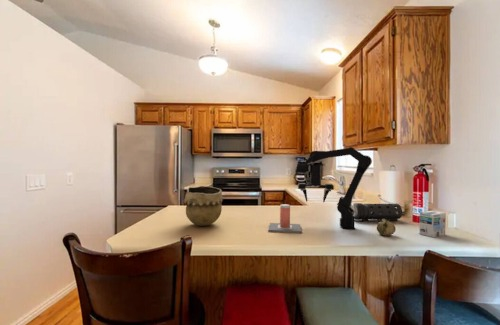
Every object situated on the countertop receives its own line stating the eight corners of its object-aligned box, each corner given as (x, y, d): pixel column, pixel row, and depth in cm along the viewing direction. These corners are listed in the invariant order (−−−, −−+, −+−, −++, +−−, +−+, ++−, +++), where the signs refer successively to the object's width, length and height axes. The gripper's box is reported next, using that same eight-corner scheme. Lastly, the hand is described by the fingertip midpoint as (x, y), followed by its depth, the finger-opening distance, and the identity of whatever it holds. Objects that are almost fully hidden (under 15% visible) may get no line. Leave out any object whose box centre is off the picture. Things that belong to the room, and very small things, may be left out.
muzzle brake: (402, 222, 153) (402, 204, 152) (355, 222, 150) (355, 204, 150) (392, 218, 162) (392, 201, 162) (348, 219, 160) (348, 201, 160)
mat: (299, 225, 141) (299, 223, 141) (301, 233, 128) (301, 231, 128) (269, 224, 143) (269, 222, 143) (268, 231, 130) (268, 229, 130)
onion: (396, 238, 121) (397, 220, 121) (377, 236, 124) (377, 219, 124) (394, 234, 128) (394, 217, 128) (375, 232, 131) (376, 216, 131)
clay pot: (231, 227, 138) (231, 188, 137) (192, 233, 126) (192, 191, 125) (213, 219, 155) (213, 184, 155) (177, 223, 143) (177, 186, 143)
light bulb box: (433, 237, 123) (433, 214, 123) (418, 234, 129) (418, 211, 129) (446, 235, 128) (446, 212, 128) (431, 231, 134) (431, 210, 134)
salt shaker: (291, 226, 136) (291, 204, 136) (287, 228, 132) (287, 206, 132) (282, 224, 139) (282, 203, 139) (278, 227, 135) (278, 205, 134)
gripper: (330, 173, 153) (329, 200, 154) (297, 172, 156) (297, 199, 156) (334, 174, 142) (333, 203, 142) (298, 173, 145) (298, 202, 145)
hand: (315, 202), depth 147 cm, fingers open, 9 cm apart
